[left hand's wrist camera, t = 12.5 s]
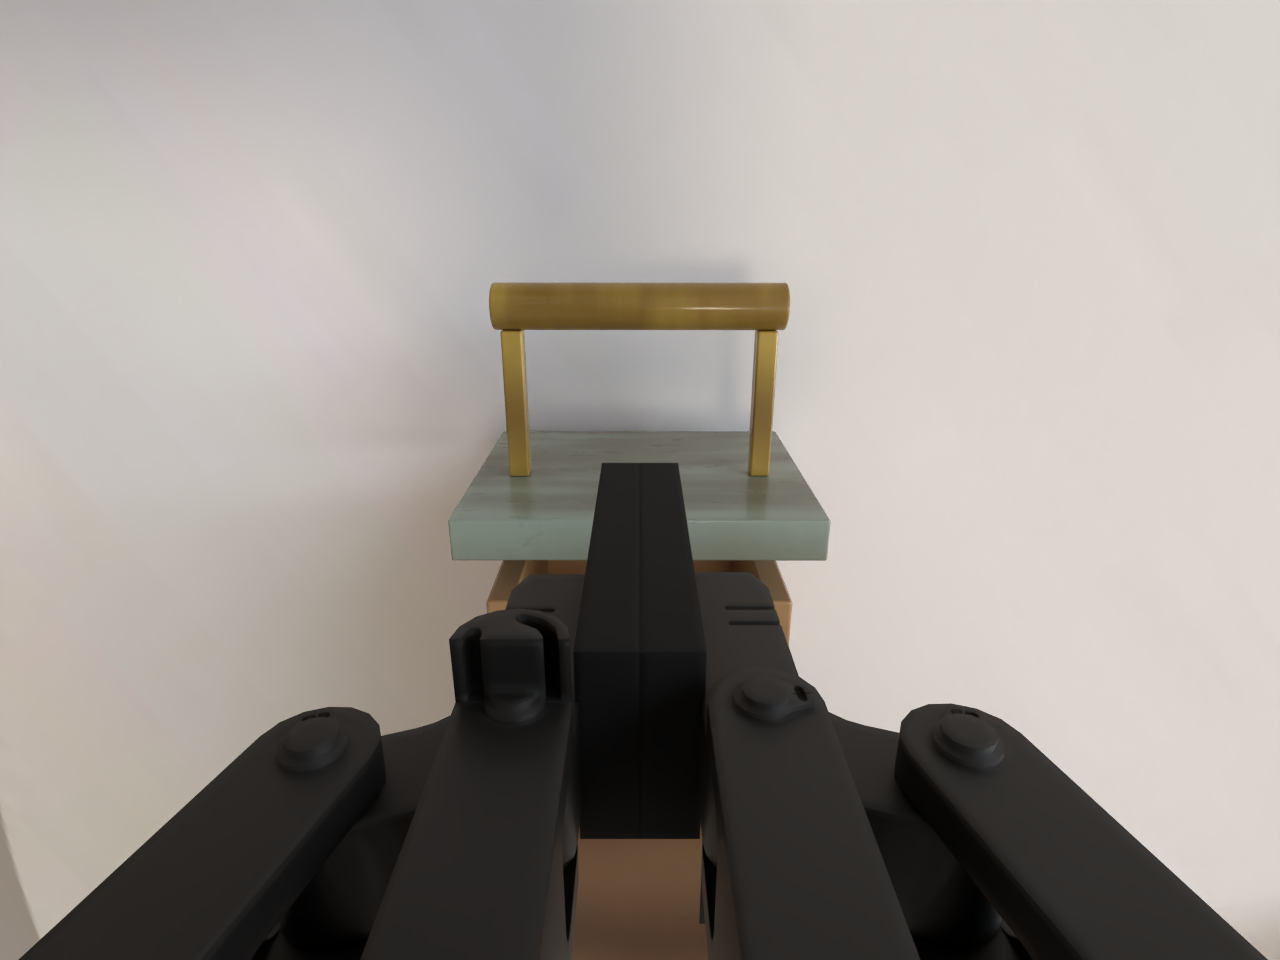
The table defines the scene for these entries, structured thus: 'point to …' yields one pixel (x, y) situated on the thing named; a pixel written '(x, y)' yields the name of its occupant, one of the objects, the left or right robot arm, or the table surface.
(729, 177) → the table surface
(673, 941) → the cabinet
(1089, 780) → the table surface
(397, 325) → the table surface
